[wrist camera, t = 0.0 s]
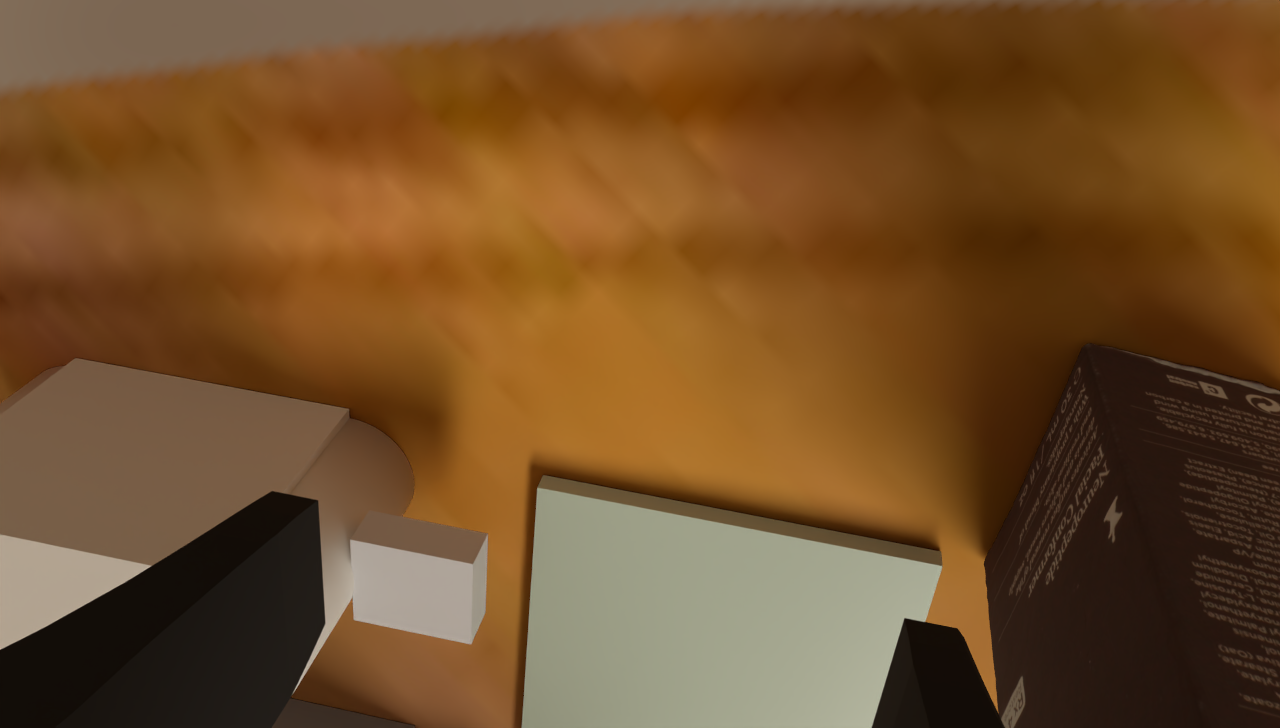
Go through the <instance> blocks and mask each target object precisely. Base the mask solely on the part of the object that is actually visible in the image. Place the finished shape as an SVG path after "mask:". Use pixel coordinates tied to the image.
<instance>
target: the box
mask: <svg viewBox="0 0 1280 728" xmlns="http://www.w3.org/2000/svg"><path fill="white" fill-rule="evenodd" d="M984 567H985V573H986V586H987V599H988V605H989V620H990V630H991V639H992V650H993V661H994V669H995V677H996V691H997V702H998V712H999V716H1000V718H1001V720H1002V722H1003V725H1004V727H1005V728H1280V391H1278V390H1276V389H1273V388H1270V387H1267V386H1265V385H1264V384H1262V383H1259V382H1255V381H1248V380H1241V379H1236V378H1233V377H1231V376H1227V375H1222V374H1218V373H1214V372H1211V371H1208V370H1206V369H1203V368H1198V367H1193V366H1186V365H1180V364H1176V363H1172V362H1170V361H1164V360H1161V359H1158V358H1153V357H1148V356H1143V355H1138V354H1135V353H1131V352H1127V351H1123V350H1119V349H1116V348H1112V347H1105V346H1098V345H1095V344H1092V343H1090V344H1086V345H1084V346H1083V347H1082V349H1081V351H1080V354H1079V356H1078V359H1077V361H1076V364H1075V366H1074V368H1073V371H1072V373H1071V375H1070V377H1069V380H1068V383H1067V385H1066V387H1065V389H1064V392H1063V394H1062V396H1061V399H1060V401H1059V403H1058V406H1057V408H1056V410H1055V413H1054V415H1053V417H1052V420H1051V422H1050V424H1049V427H1048V430H1047V432H1046V433H1045V435H1044V437H1043V439H1042V442H1041V444H1040V446H1039V448H1038V450H1037V453H1036V455H1035V457H1034V459H1033V462H1032V464H1031V466H1030V468H1029V471H1028V474H1027V476H1026V478H1025V480H1024V483H1023V485H1022V487H1021V489H1020V491H1019V494H1018V496H1017V498H1016V499H1015V501H1014V504H1013V507H1012V509H1011V510H1010V512H1009V514H1008V516H1007V518H1006V520H1005V521H1004V524H1003V526H1002V528H1001V530H1000V532H999V534H998V536H997V538H996V540H995V542H994V544H993V546H992V547H991V549H990V550H989V552H988V554H987V556H986V558H985V561H984Z"/></svg>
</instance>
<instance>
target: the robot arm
mask: <svg viewBox="0 0 1280 728" xmlns="http://www.w3.org/2000/svg"><path fill="white" fill-rule="evenodd" d="M325 624H326V623H325V606H324V589H323V572H322V555H321V538H320V521H319V504H318V500H315V499H310V498H305V497H300V496H295V495H290V494H285V493H280V492H275V491H271V492H269V493H268V494H266V495H264V496H263V497H261V498H259V499H258V500H256V501H254V502H253V503H251V504H249V505H248V506H246V507H245V508H243V509H242V510H240V511H238V512H237V513H235V514H234V515H232V516H230V517H229V518H227V519H226V520H224V521H223V522H221V523H220V524H218V525H216V526H215V527H213V528H212V529H210V530H209V531H207V532H205V533H204V534H202V535H201V536H199V537H198V538H196V539H194V540H193V541H191V542H190V543H188V544H187V545H185V546H183V547H182V548H180V549H178V550H177V551H175V552H174V553H172V554H170V555H169V556H167V557H165V558H164V559H162V560H161V561H159V562H157V563H156V564H154V565H152V566H151V567H149V568H148V569H146V570H144V571H143V572H141V573H139V574H138V575H136V576H135V577H133V578H131V579H130V580H128V581H126V582H125V583H123V584H121V585H119V586H117V587H116V588H114V589H112V590H110V591H109V592H107V593H105V594H103V595H101V596H100V597H98V598H96V599H94V600H92V601H91V602H89V603H87V604H85V605H84V606H82V607H80V608H78V609H76V610H75V611H73V612H71V613H69V614H67V615H66V616H64V617H62V618H60V619H59V620H57V621H55V622H53V623H51V624H50V625H48V626H46V627H44V628H42V629H40V630H38V631H36V632H34V633H32V634H30V635H29V636H27V637H25V638H23V639H21V640H19V641H17V642H15V643H12V644H10V645H8V646H6V647H4V648H2V649H0V728H272V726H273V725H274V723H275V722H276V720H277V719H278V717H279V715H280V714H281V712H282V711H283V709H284V707H285V706H286V704H287V702H288V701H289V699H290V698H291V696H292V694H293V692H294V690H295V688H296V686H297V684H298V682H299V680H300V678H301V676H302V674H303V671H304V669H305V667H306V665H307V663H308V661H309V659H310V657H311V655H312V652H313V650H314V648H315V646H316V644H317V641H318V639H319V637H320V635H321V633H322V630H323V628H324V626H325ZM872 728H1005V727H1004V725H1003V722H1002V720H1001V718H1000V716H999V714H998V712H997V710H996V708H995V706H994V704H993V702H992V700H991V698H990V695H989V693H988V691H987V689H986V687H985V685H984V682H983V680H982V678H981V676H980V673H979V671H978V669H977V667H976V664H975V662H974V660H973V657H972V655H971V653H970V651H969V648H968V646H967V643H966V641H965V639H964V637H963V636H962V634H961V633H960V631H959V630H958V629H957V628H952V627H947V626H942V625H937V624H932V623H927V622H922V621H917V620H912V619H907V618H904V621H903V625H902V628H901V631H900V635H899V638H898V641H897V645H896V648H895V651H894V655H893V658H892V661H891V665H890V668H889V671H888V675H887V678H886V681H885V685H884V688H883V691H882V695H881V698H880V701H879V705H878V708H877V711H876V715H875V718H874V721H873V725H872Z"/></svg>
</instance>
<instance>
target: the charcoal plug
mask: <svg viewBox="0 0 1280 728" xmlns="http://www.w3.org/2000/svg"><path fill="white" fill-rule="evenodd" d="M272 728H415V726H414V725H409V724H405V723H400V722H396V721H391V720H386V719H382V718H377V717H373V716H368V715H364V714H359V713H355V712H350V711H346V710H341V709H337V708H332V707H328V706H323V705H319V704H314V703H310V702H305V701H301V700H296V699H291V698H290V699H289V701H288V702H287V704H286V706H285V707H284V709H283V711H282V712H281V714H280V715H279V717H278V719H277V720H276V722H275V723H274V725H273V726H272Z"/></svg>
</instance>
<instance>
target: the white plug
mask: <svg viewBox="0 0 1280 728" xmlns="http://www.w3.org/2000/svg"><path fill="white" fill-rule="evenodd" d="M271 491H275V492H280V493H285V494H290V495H295V496H300V497H305V498H310V499H315V500H318V504H319V521H320V538H321V555H322V572H323V589H324V606H325V623H326V624H325V626H324V628H323V630H322V633H321V635H320V637H319V639H318V641H317V644H316V646H315V648H314V650H313V652H312V655H311V657H310V659H309V661H308V663H307V665H306V667H305V669H304V671H303V674H302V676H301V678H300V680H299V682H298V684H297V686H296V688H297V687H298V685H299V684H300V682H301V680H302V679H303V677H304V675H305V674H306V672H307V671H308V669H309V667H310V666H311V664H312V662H313V661H314V659H315V658H316V656H317V654H318V653H319V651H320V649H321V648H322V646H323V645H324V643H325V641H326V640H327V638H328V636H329V635H330V633H331V631H332V630H333V628H334V627H335V625H336V623H337V622H338V620H339V618H340V617H341V615H342V614H343V612H344V610H345V609H346V607H347V605H348V604H349V602H350V601H351V599H352V597H353V613H354V620H356V621H361V622H366V623H371V624H375V625H380V626H385V627H390V628H394V629H399V630H404V631H409V632H414V633H418V634H423V635H428V636H433V637H438V638H442V639H447V640H452V641H457V642H462V643H466V644H471V643H472V641H473V639H474V637H475V635H476V632H477V630H478V628H479V626H480V623H481V621H482V619H483V617H484V614H485V609H486V580H487V550H488V534H487V533H482V532H477V531H472V530H467V529H462V528H457V527H452V526H446V525H441V524H436V523H431V522H426V521H421V520H416V519H411V518H406V517H402V516H403V514H404V513H405V511H406V509H407V508H408V506H409V505H410V502H411V500H412V498H413V494H414V476H413V472H412V469H411V466H410V463H409V462H408V460H407V458H406V456H405V455H404V453H403V452H402V450H401V449H400V448H399V447H398V445H397V444H396V443H395V442H394V441H393V440H392V439H391V438H390V437H388V436H387V435H386V434H384V433H383V432H382V431H380V430H378V429H377V428H375V427H373V426H371V425H369V424H367V423H365V422H362V421H359V420H355V419H351V418H350V416H349V409H347V408H341V407H336V406H331V405H325V404H320V403H315V402H309V401H304V400H298V399H293V398H288V397H282V396H277V395H272V394H266V393H261V392H256V391H250V390H245V389H239V388H234V387H229V386H223V385H218V384H213V383H207V382H202V381H197V380H191V379H186V378H181V377H175V376H170V375H164V374H159V373H154V372H148V371H143V370H138V369H132V368H127V367H122V366H116V365H111V364H106V363H100V362H95V361H89V360H84V359H79V358H75V359H73V360H72V361H71V362H69V363H68V364H67V365H65V366H58V367H53V368H50V369H47V370H45V371H43V372H42V373H41V374H39V375H38V376H37V377H35V378H34V379H33V380H31V381H30V382H29V383H27V384H26V385H25V386H23V387H22V388H20V389H19V390H18V391H16V392H15V393H14V394H12V395H11V396H10V397H8V398H7V399H6V400H4V401H3V402H2V403H0V649H2V648H4V647H6V646H8V645H10V644H12V643H15V642H17V641H19V640H21V639H23V638H25V637H27V636H29V635H30V634H32V633H34V632H36V631H38V630H40V629H42V628H44V627H46V626H48V625H50V624H51V623H53V622H55V621H57V620H59V619H60V618H62V617H64V616H66V615H67V614H69V613H71V612H73V611H75V610H76V609H78V608H80V607H82V606H84V605H85V604H87V603H89V602H91V601H92V600H94V599H96V598H98V597H100V596H101V595H103V594H105V593H107V592H109V591H110V590H112V589H114V588H116V587H117V586H119V585H121V584H123V583H125V582H126V581H128V580H130V579H131V578H133V577H135V576H136V575H138V574H139V573H141V572H143V571H144V570H146V569H148V568H149V567H151V566H152V565H154V564H156V563H157V562H159V561H161V560H162V559H164V558H165V557H167V556H169V555H170V554H172V553H174V552H175V551H177V550H178V549H180V548H182V547H183V546H185V545H187V544H188V543H190V542H191V541H193V540H194V539H196V538H198V537H199V536H201V535H202V534H204V533H205V532H207V531H209V530H210V529H212V528H213V527H215V526H216V525H218V524H220V523H221V522H223V521H224V520H226V519H227V518H229V517H230V516H232V515H234V514H235V513H237V512H238V511H240V510H242V509H243V508H245V507H246V506H248V505H249V504H251V503H253V502H254V501H256V500H258V499H259V498H261V497H263V496H264V495H266V494H268V493H269V492H271ZM296 688H295V690H296ZM295 690H294V691H295ZM293 693H294V692H293Z"/></svg>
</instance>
